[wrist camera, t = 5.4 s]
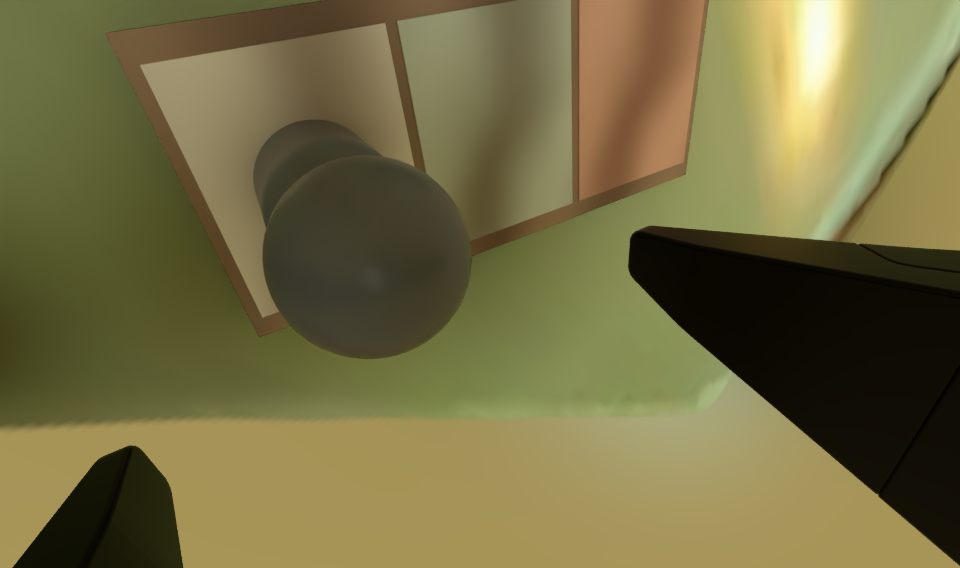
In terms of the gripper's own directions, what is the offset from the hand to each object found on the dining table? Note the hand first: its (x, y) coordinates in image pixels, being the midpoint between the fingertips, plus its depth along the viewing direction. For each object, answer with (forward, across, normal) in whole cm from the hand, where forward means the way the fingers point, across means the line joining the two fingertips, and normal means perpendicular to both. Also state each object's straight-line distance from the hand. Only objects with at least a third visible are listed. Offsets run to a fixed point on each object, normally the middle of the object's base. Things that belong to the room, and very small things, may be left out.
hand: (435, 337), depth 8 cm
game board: (+11, -7, 0) cm, 13 cm away
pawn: (+10, 0, 0) cm, 10 cm away
